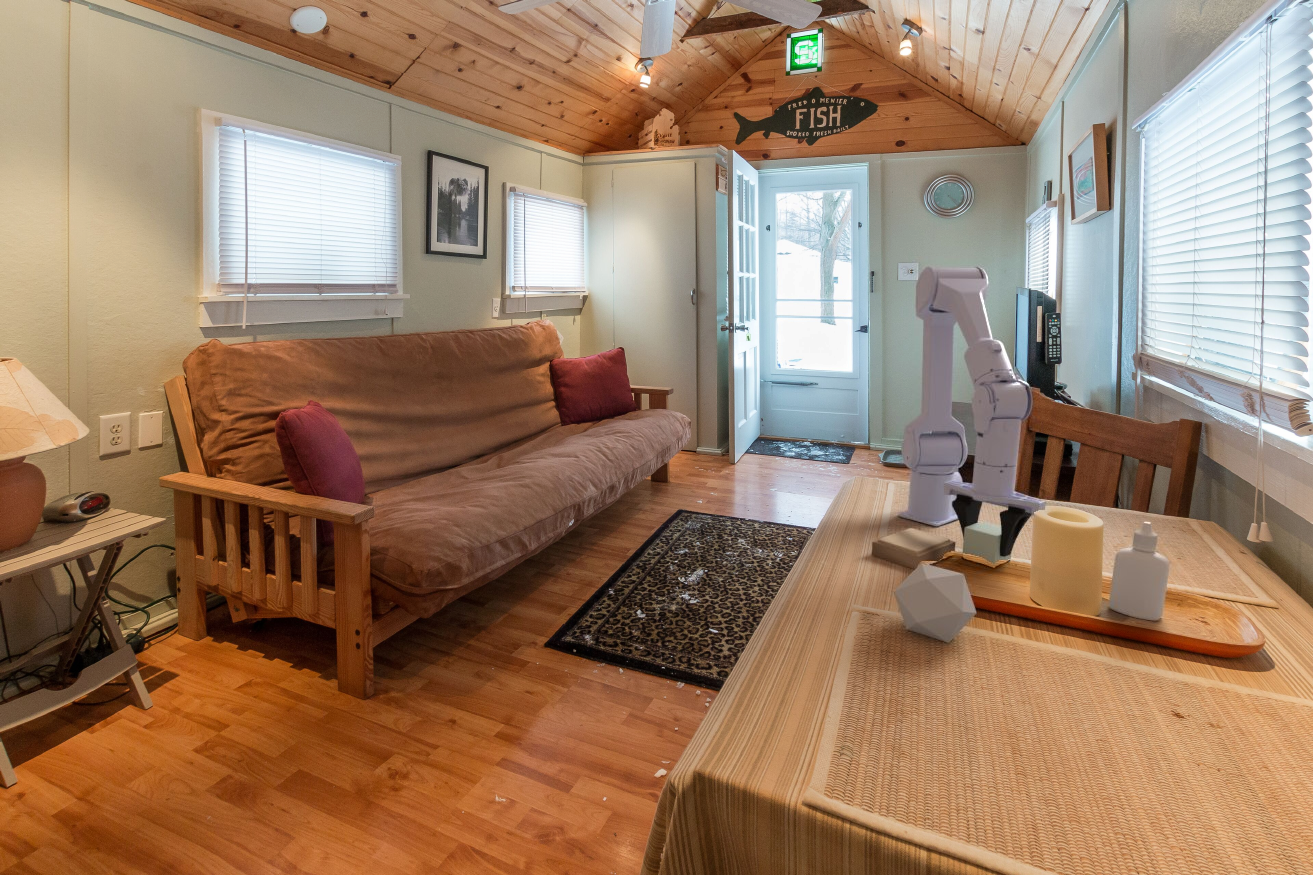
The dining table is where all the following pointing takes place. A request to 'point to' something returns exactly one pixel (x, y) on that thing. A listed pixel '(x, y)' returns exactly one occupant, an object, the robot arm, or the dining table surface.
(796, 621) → the dining table surface
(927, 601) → the die
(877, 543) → the plinth
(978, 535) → the sage block
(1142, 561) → the eye dropper bottle
